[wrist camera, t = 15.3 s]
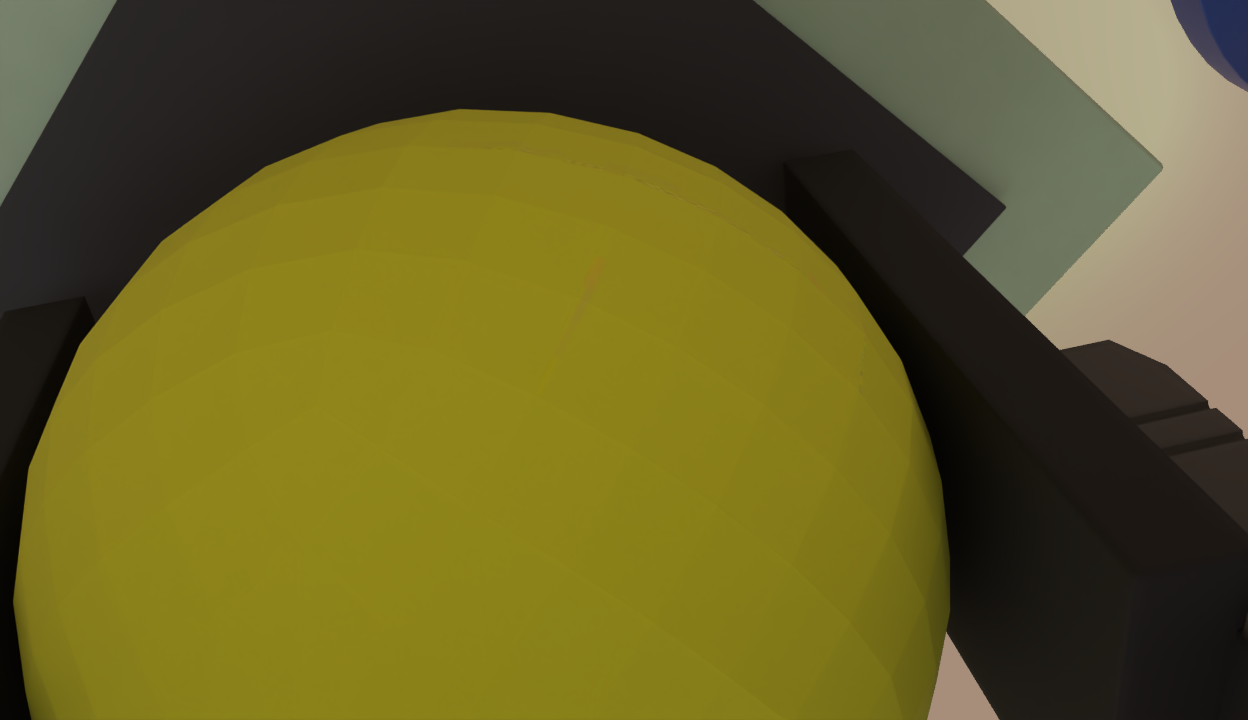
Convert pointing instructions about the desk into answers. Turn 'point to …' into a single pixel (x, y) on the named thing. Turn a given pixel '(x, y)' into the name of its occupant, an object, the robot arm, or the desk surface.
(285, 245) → the ornament
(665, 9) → the shelf
